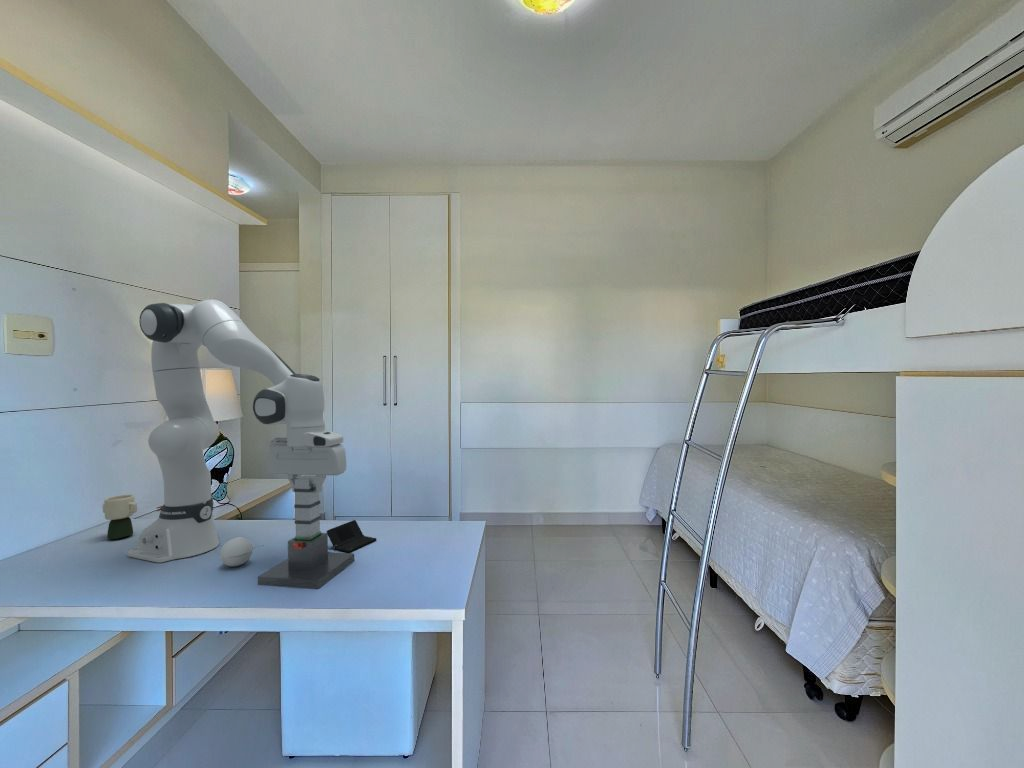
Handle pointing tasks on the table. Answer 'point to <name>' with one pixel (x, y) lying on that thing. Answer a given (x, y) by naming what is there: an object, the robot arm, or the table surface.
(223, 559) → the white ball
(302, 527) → the column
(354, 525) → the handheld gaming console
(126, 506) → the character mug
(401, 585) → the table surface
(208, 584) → the table surface
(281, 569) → the stand base
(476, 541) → the table surface
